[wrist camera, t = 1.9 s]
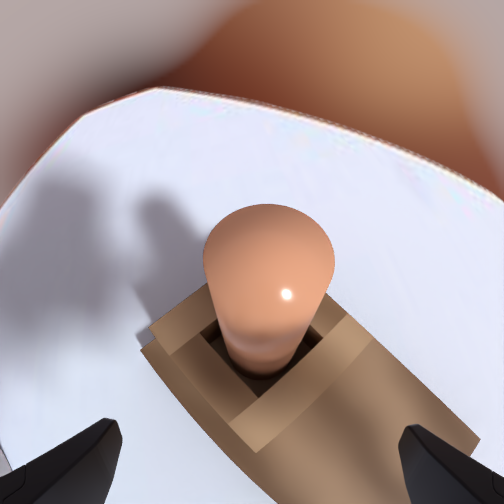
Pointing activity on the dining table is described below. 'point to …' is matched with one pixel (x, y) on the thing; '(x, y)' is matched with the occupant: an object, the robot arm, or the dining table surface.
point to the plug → (266, 283)
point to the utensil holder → (4, 465)
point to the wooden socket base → (303, 406)
